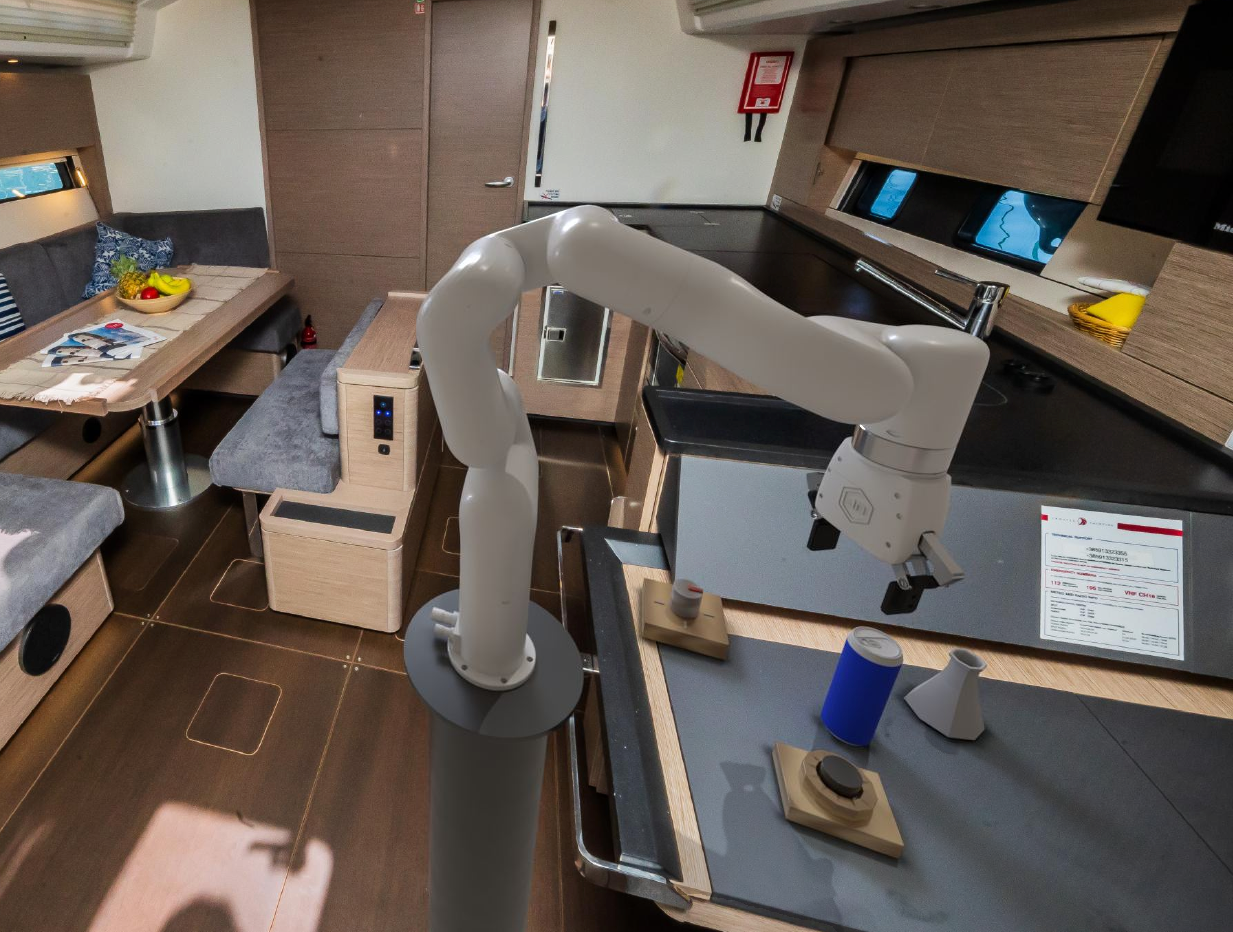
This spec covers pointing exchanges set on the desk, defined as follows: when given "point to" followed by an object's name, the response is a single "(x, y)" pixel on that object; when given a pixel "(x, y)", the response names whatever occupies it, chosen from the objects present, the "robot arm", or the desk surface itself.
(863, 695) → the beverage can
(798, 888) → the desk surface
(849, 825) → the button block
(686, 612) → the knob
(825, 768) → the button
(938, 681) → the flask
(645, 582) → the knob panel
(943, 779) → the desk surface
